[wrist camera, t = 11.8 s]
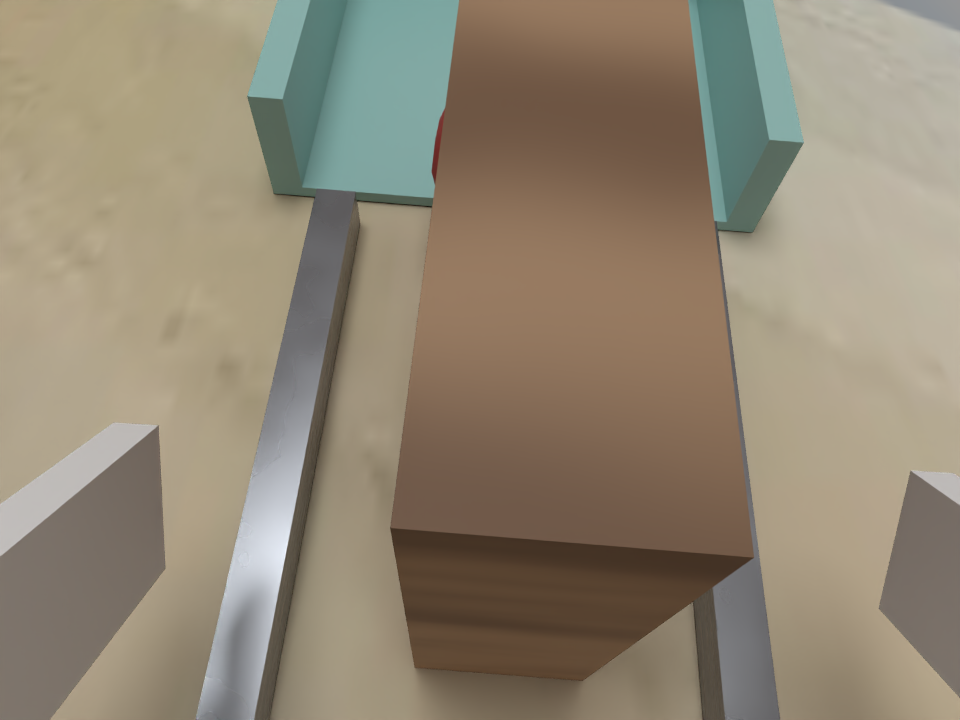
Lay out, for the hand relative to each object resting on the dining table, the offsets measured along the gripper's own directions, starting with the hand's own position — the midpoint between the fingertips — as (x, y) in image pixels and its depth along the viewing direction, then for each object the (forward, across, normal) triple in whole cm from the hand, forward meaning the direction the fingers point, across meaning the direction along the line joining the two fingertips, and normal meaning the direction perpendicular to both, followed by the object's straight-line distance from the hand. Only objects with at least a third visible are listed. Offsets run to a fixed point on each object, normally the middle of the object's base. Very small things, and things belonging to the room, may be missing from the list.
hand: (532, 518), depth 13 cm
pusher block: (+7, 0, -2) cm, 7 cm away
